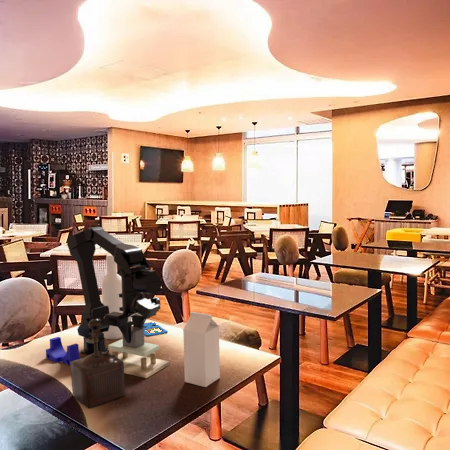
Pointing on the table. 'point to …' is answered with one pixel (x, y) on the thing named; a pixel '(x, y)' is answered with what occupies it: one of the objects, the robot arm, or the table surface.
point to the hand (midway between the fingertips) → (133, 340)
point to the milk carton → (201, 350)
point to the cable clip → (62, 351)
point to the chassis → (141, 364)
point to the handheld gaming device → (150, 327)
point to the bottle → (112, 295)
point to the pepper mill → (97, 374)
